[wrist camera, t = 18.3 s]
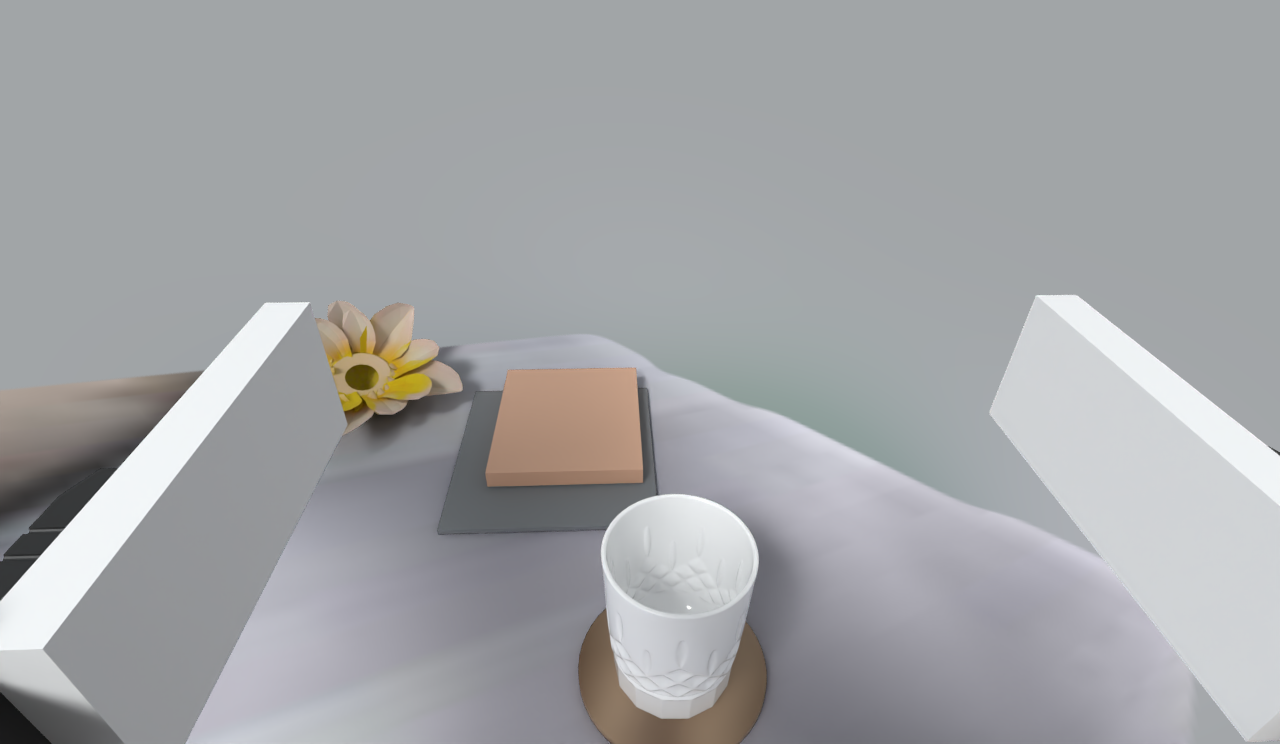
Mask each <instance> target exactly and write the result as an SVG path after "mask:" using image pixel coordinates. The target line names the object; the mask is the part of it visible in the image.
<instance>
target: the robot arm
mask: <svg viewBox="0 0 1280 744" xmlns="http://www.w3.org/2000/svg"><path fill="white" fill-rule="evenodd" d="M989 414H990V415H991V416H992V417H993V419H994V420H995V421H996V423H997V424H998V425H999V426H1000V428H1001V429H1002V430H1003V432H1004V433H1005V434H1006V436H1007V437H1008V438H1009V439H1010V441H1011V442H1012V443H1013V444H1014V446H1015V447H1016V448H1017V449H1018V451H1019V452H1020V453H1021V455H1022V456H1023V457H1024V459H1026V461H1027V462H1028V464H1029V465H1030V466H1031V467H1032V469H1033V470H1034V471H1035V473H1036V474H1037V475H1038V476H1039V478H1040V479H1041V480H1042V481H1043V483H1044V484H1045V485H1046V487H1047V488H1048V489H1049V490H1050V492H1051V493H1052V494H1053V495H1054V497H1055V498H1056V499H1057V501H1058V502H1059V503H1060V504H1061V506H1062V507H1063V508H1064V510H1065V511H1066V512H1067V513H1068V514H1069V516H1070V517H1071V519H1072V520H1073V521H1074V522H1075V524H1076V525H1077V526H1078V527H1079V529H1080V530H1081V531H1082V533H1083V534H1084V535H1085V536H1086V538H1087V539H1088V540H1089V542H1090V543H1091V544H1092V545H1093V547H1094V548H1095V549H1096V550H1097V552H1098V553H1099V554H1100V556H1101V557H1102V558H1103V559H1104V561H1105V562H1106V563H1107V565H1108V566H1109V567H1110V568H1111V570H1112V571H1113V572H1114V573H1115V575H1116V576H1117V577H1118V579H1119V580H1120V581H1121V582H1122V584H1123V585H1124V586H1125V588H1126V589H1127V590H1128V591H1129V593H1130V594H1131V595H1132V596H1133V598H1134V599H1135V600H1136V602H1137V603H1138V604H1139V605H1140V607H1141V608H1142V609H1143V611H1144V612H1145V613H1146V614H1147V616H1148V617H1149V618H1150V619H1151V621H1152V622H1153V623H1154V625H1155V626H1156V627H1157V628H1158V630H1159V631H1160V632H1161V634H1162V635H1163V636H1164V637H1165V639H1166V640H1167V641H1168V642H1169V644H1170V645H1171V646H1172V648H1173V649H1174V650H1175V651H1176V653H1177V654H1178V655H1179V656H1180V658H1181V659H1182V660H1183V662H1184V663H1185V664H1186V665H1187V667H1188V668H1189V669H1190V671H1191V672H1192V673H1193V674H1194V676H1195V677H1196V678H1197V679H1198V681H1199V682H1200V683H1201V685H1202V686H1203V687H1204V688H1205V690H1206V691H1207V692H1208V693H1209V695H1210V696H1211V697H1212V699H1213V700H1214V701H1215V702H1216V704H1217V705H1218V706H1219V708H1220V709H1221V710H1222V711H1223V713H1224V714H1225V715H1226V717H1227V718H1228V719H1229V720H1230V721H1231V723H1232V724H1233V725H1234V727H1235V728H1236V729H1237V731H1238V732H1239V733H1240V734H1241V736H1242V737H1243V738H1244V739H1245V741H1246V742H1257V741H1280V452H1278V451H1276V450H1274V449H1273V448H1271V447H1269V446H1267V445H1265V444H1264V443H1263V442H1262V441H1260V440H1259V439H1258V438H1257V437H1255V436H1254V435H1253V434H1252V433H1250V432H1249V431H1248V430H1246V429H1245V428H1244V427H1243V426H1241V425H1240V424H1239V423H1238V422H1236V421H1235V420H1234V419H1232V418H1231V417H1230V416H1229V415H1227V414H1226V413H1225V412H1224V411H1222V410H1221V409H1220V408H1219V407H1217V406H1216V405H1215V404H1213V403H1212V402H1211V401H1209V400H1208V399H1207V398H1206V397H1205V396H1203V395H1202V394H1200V392H1198V391H1197V390H1196V389H1195V388H1193V387H1192V386H1191V385H1190V384H1188V383H1187V382H1186V381H1184V380H1183V379H1182V378H1181V377H1179V376H1178V375H1177V374H1176V373H1174V372H1173V371H1172V370H1171V369H1169V368H1168V367H1167V366H1165V365H1164V364H1163V363H1162V362H1160V361H1159V360H1158V359H1157V358H1155V357H1154V356H1153V355H1151V354H1150V353H1149V352H1148V351H1147V350H1145V349H1144V348H1143V347H1141V346H1140V345H1139V344H1138V343H1136V342H1135V341H1134V340H1133V339H1131V338H1130V337H1129V336H1128V335H1126V334H1125V333H1124V332H1123V331H1121V330H1120V329H1119V328H1117V327H1116V326H1115V325H1114V324H1112V323H1111V322H1110V321H1109V320H1107V319H1106V318H1105V317H1103V316H1102V315H1101V314H1100V313H1098V312H1097V311H1096V310H1095V309H1093V308H1092V307H1091V306H1090V305H1088V304H1087V303H1086V302H1085V301H1083V300H1082V299H1081V298H1080V297H1078V296H1077V295H1036V297H1035V300H1034V302H1033V305H1032V307H1031V310H1030V312H1029V315H1028V317H1027V320H1026V322H1025V325H1024V327H1023V330H1022V332H1021V334H1020V337H1019V339H1018V342H1017V345H1016V347H1015V350H1014V352H1013V355H1012V357H1011V359H1010V362H1009V365H1008V367H1007V369H1006V372H1005V374H1004V377H1003V379H1002V382H1001V384H1000V387H999V389H998V392H997V394H996V397H995V399H994V402H993V404H992V406H991V409H990V411H989ZM347 425H348V424H347V421H346V417H345V414H344V411H343V408H342V404H341V401H340V398H339V395H338V392H337V388H336V385H335V382H334V379H333V375H332V372H331V369H330V366H329V363H328V359H327V356H326V353H325V350H324V346H323V343H322V340H321V337H320V333H319V330H318V327H317V324H316V321H315V318H314V314H313V311H312V308H311V304H310V302H309V303H308V302H307V303H305V302H304V303H265V304H264V305H263V306H262V307H261V308H260V309H259V310H258V312H257V313H256V314H255V315H254V316H253V317H252V318H251V319H250V321H249V322H248V323H247V324H246V325H245V326H244V327H243V328H242V330H241V331H240V332H239V333H238V334H237V335H236V336H235V337H234V339H233V340H232V341H231V342H230V343H229V344H228V345H227V346H226V348H225V349H224V350H223V351H222V352H221V353H220V354H219V355H218V357H217V358H216V359H215V360H214V361H213V362H212V363H211V364H210V366H209V367H208V368H207V369H206V370H205V371H204V372H203V373H202V375H201V376H200V377H199V378H198V379H197V380H196V381H195V382H194V384H193V385H192V386H191V387H190V388H189V389H188V390H187V391H186V393H185V394H184V395H183V396H182V397H181V398H180V399H179V400H178V402H177V403H176V404H175V405H174V406H173V407H172V408H171V409H170V411H169V412H168V413H167V414H166V415H165V416H164V417H163V418H162V420H161V421H160V422H159V423H158V424H157V425H156V426H155V427H154V429H153V430H152V431H151V432H150V433H149V434H148V435H147V436H146V438H145V439H144V440H143V441H142V442H141V443H140V444H139V445H138V447H137V448H136V449H135V450H134V451H133V452H132V453H131V454H130V456H129V457H128V458H127V459H126V460H125V461H124V462H123V463H122V465H121V466H120V467H119V468H108V469H99V470H97V471H96V472H94V473H93V474H91V475H90V476H88V477H87V478H85V479H84V480H82V481H81V482H79V483H78V484H76V485H75V486H73V487H72V488H70V489H69V490H67V491H66V492H64V493H63V494H61V495H60V496H59V497H58V498H57V499H56V500H55V501H54V502H53V503H52V504H51V505H50V506H49V507H48V508H47V509H46V510H45V511H44V512H43V514H42V515H41V516H40V517H39V518H38V519H37V520H36V521H35V522H34V523H33V524H32V525H31V526H30V527H29V529H30V530H29V533H28V534H23V535H22V536H21V537H20V538H19V539H18V540H17V541H16V542H15V543H14V544H13V545H12V546H11V547H10V548H9V549H8V550H7V552H6V553H5V554H4V559H3V561H2V562H0V744H185V743H186V741H187V739H188V737H189V735H190V733H191V731H192V729H193V727H194V725H195V723H196V721H197V719H198V717H199V715H200V713H201V712H202V710H203V708H204V706H205V704H206V702H207V700H208V698H209V696H210V694H211V692H212V690H213V688H214V686H215V684H216V682H217V680H218V678H219V676H220V674H221V672H222V670H223V668H224V666H225V664H226V662H227V660H228V659H229V657H230V655H231V653H232V651H233V649H234V647H235V645H236V643H237V641H238V639H239V637H240V635H241V633H242V631H243V629H244V627H245V625H246V623H247V621H248V619H249V617H250V615H251V613H252V611H253V609H254V607H255V606H256V604H257V602H258V600H259V598H260V596H261V594H262V592H263V590H264V588H265V586H266V584H267V582H268V580H269V578H270V576H271V574H272V572H273V570H274V568H275V566H276V564H277V562H278V560H279V558H280V556H281V554H282V553H283V551H284V549H285V547H286V545H287V543H288V541H289V539H290V537H291V535H292V533H293V531H294V529H295V527H296V525H297V523H298V521H299V519H300V517H301V515H302V513H303V511H304V509H305V507H306V505H307V503H308V501H309V500H310V498H311V496H312V494H313V492H314V490H315V488H316V486H317V484H318V482H319V480H320V478H321V476H322V474H323V472H324V470H325V468H326V466H327V464H328V462H329V460H330V458H331V456H332V454H333V452H334V450H335V448H336V447H337V445H338V443H339V441H340V439H341V437H342V435H343V433H344V431H345V429H346V427H347Z"/></svg>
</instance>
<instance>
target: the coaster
mask: <svg viewBox="0 0 1280 744" xmlns="http://www.w3.org/2000/svg"><path fill="white" fill-rule="evenodd" d="M578 669H579V685H580V691H581V696H582V700H583V703H584V706H585V708H586V710H587V712H588V715H589V717H590V719H591V720H592V722H593V723H594V725H595V726H596V728H597V729H598V730H599V731H600V733H601V734H602V735H603V736H604V737H605V738H606V739H607V740H608V741H609V742H610V743H611V744H739V743H740V742H741V741H742V740H743V739H744V738H745V737H746V736H747V735H748V733H749V732H750V731H751V729H752V727H753V726H754V724H755V723H756V721H757V718H758V716H759V714H760V712H761V708H762V705H763V701H764V697H765V691H766V684H767V671H766V665H765V659H764V655H763V652H762V649H761V646H760V644H759V642H758V639H757V637H756V636H755V634H754V632H753V631H752V629H751V628H750V626H749V625H748V624H747V622H745V626H744V630H743V634H742V637H741V640H740V644H739V648H738V651H737V654H736V657H735V659H734V662H733V664H732V667H731V672H730V676H729V681H728V685H727V687H726V688H725V690H724V691H723V693H722V694H721V696H720V697H719V698H718V700H717V701H716V703H715V704H714V706H713V707H711V708H709V709H707V710H705V711H703V712H701V713H699V714H697V715H695V716H693V717H691V718H689V719H661V718H659V717H656V716H654V715H652V714H650V713H648V712H646V711H644V710H642V709H639V708H637V707H636V706H635V705H634V703H633V702H632V701H631V700H630V699H629V697H628V696H627V695H626V694H625V692H624V691H623V690H622V689H621V687H620V686H619V681H618V677H617V672H616V668H615V663H614V654H613V650H612V648H611V641H610V634H609V628H608V620H607V611H606V609H605V610H604V611H603V612H602V613H601V614H600V615H599V616H598V617H597V619H596V620H595V621H594V623H593V624H592V625H591V627H590V629H589V631H588V632H587V634H586V637H585V639H584V642H583V644H582V648H581V652H580V656H579V666H578Z"/></svg>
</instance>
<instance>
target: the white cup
mask: <svg viewBox="0 0 1280 744" xmlns="http://www.w3.org/2000/svg"><path fill="white" fill-rule="evenodd" d="M601 561H602V570H603V580H604V590H605V601H606V611H607V620H608V628H609V634H610V641H611V648H612V650H613V654H614V663H615V668H616V672H617V677H618V681H619V686H620V687H621V689H622V690H623V691H624V692H625V694H626V695H627V696H628V697H629V699H630V700H631V701H632V702H633V703H634V705H635V706H636V707H637V708H639V709H642V710H644V711H646V712H648V713H650V714H652V715H654V716H656V717H659V718H661V719H689V718H691V717H693V716H695V715H697V714H699V713H701V712H703V711H705V710H707V709H709V708H711V707H713V706H714V704H715V703H716V701H717V700H718V698H719V697H720V696H721V694H722V693H723V691H724V690H725V688H726V687H727V685H728V681H729V676H730V672H731V667H732V664H733V662H734V659H735V657H736V654H737V651H738V648H739V644H740V640H741V637H742V634H743V630H744V626H745V622H746V617H747V613H748V609H749V605H750V600H751V596H752V592H753V588H754V584H755V580H756V576H757V572H758V566H759V555H758V549H757V545H756V542H755V540H754V537H753V535H752V534H751V532H750V530H749V529H748V527H747V526H746V525H745V524H744V523H743V521H742V520H741V519H740V518H739V517H737V516H736V515H735V514H734V513H733V512H731V511H730V510H728V509H727V508H725V507H724V506H722V505H720V504H718V503H716V502H713V501H711V500H708V499H705V498H702V497H698V496H693V495H686V494H664V495H658V496H653V497H649V498H646V499H643V500H641V501H638V502H636V503H634V504H632V505H630V506H629V507H627V508H626V509H624V510H623V511H622V512H621V513H619V514H618V515H617V516H616V517H615V518H614V520H613V521H612V522H611V523H610V525H609V527H608V528H607V530H606V532H605V535H604V537H603V541H602V545H601Z"/></svg>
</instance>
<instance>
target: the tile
mask: <svg viewBox="0 0 1280 744" xmlns="http://www.w3.org/2000/svg"><path fill="white" fill-rule="evenodd" d="M485 475H486V481H487V487H499V486H539V485H579V484H619V483H643V461H642V447H641V432H640V418H639V404H638V390H637V375H636V368H587V369H530V370H508V372H507V376H506V381H505V385H504V390H503V394H502V399H501V404H500V408H499V413H498V417H497V422H496V426H495V431H494V436H493V440H492V445H491V449H490V454H489V458H488V463H487V467H486V472H485Z"/></svg>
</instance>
